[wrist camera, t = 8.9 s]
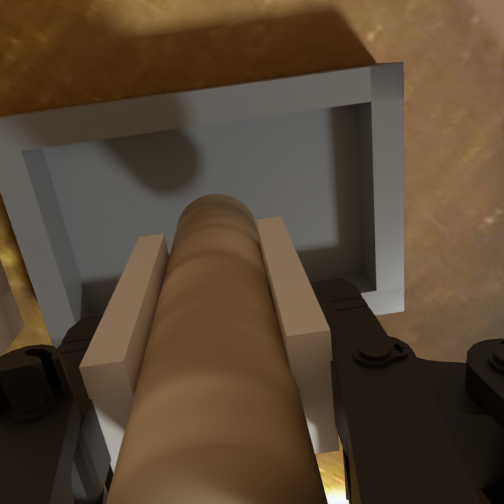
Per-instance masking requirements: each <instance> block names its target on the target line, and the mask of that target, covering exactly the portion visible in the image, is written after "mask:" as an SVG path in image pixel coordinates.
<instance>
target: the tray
mask: <svg viewBox="0 0 504 504" xmlns="http://www.w3.org/2000/svg"><path fill="white" fill-rule="evenodd" d="M0 193H1V196H2V198H3V201H4V204H5V207H6V210H7V213H8V216H9V219H10V222H11V225H12V228H13V230H14V233H15V236H16V239H17V242H18V245H19V248H20V251H21V254H22V257H23V260H24V262H25V265H26V268H27V271H28V274H29V277H30V280H31V283H32V286H33V289H34V292H35V294H36V297H37V300H38V303H39V306H40V309H41V312H42V315H43V318H44V321H45V324H46V326H47V329H48V332H49V335H50V338H51V341H52V344H53V346H54V347H55V348H57V349H58V347H59V345H61V342H62V340H63V338H64V336H65V335H66V333H67V331H68V329H70V328H71V327H72V326H73V325H74V324H76V323H77V322H78V321H79V320H80V319H82V318H83V317H88V316H95V315H102V314H104V312H105V310H106V308H107V306H108V304H109V302H110V299H111V297H112V295H113V293H114V291H115V289H116V287H117V284H118V282H119V280H120V278H121V276H122V274H123V271H124V269H125V267H126V265H127V263H128V261H129V259H130V256H131V254H132V252H133V250H134V248H135V246H136V243H137V241H138V239H139V237H142V236H149V235H156V234H163V233H164V234H165V238H166V243H167V248H168V253H169V255H170V252H171V248H172V244H173V240H174V236H175V232H176V228H177V224H178V221H179V218H180V216H181V214H182V212H183V211H184V209H185V208H186V207H187V206H188V205H189V204H190V203H191V202H193V201H194V200H196V199H198V198H200V197H203V196H206V195H210V194H223V195H228V196H231V197H233V198H235V199H237V200H239V201H241V202H242V203H243V204H244V205H245V206H246V207H247V208H248V209H249V210H250V212H251V213H252V215H253V217H254V219H255V222H256V220H260V219H267V218H274V217H280V216H281V218H282V220H283V223H284V225H285V227H286V230H287V232H288V234H289V236H290V239H291V241H292V243H293V246H294V248H295V250H296V252H297V255H298V257H299V259H300V262H301V264H302V266H303V268H304V271H305V273H306V275H307V278H308V280H309V282H315V281H322V280H329V279H335V278H343V279H345V280H347V281H348V282H350V283H352V284H354V285H355V286H356V287H357V289H358V290H359V292H360V293H361V295H362V297H363V298H364V299H365V301H366V303H367V304H368V307H370V309H371V310H372V312H373V313H374V315H381V314H388V313H394V312H401V311H404V85H403V62H393V63H376V64H369V65H362V66H354V67H347V68H340V69H333V70H326V71H318V72H311V73H304V74H297V75H289V76H282V77H275V78H268V79H261V80H253V81H246V82H239V83H232V84H225V85H217V86H210V87H203V88H196V89H189V90H181V91H174V92H167V93H160V94H152V95H145V96H138V97H131V98H124V99H116V100H109V101H102V102H95V103H88V104H80V105H73V106H66V107H59V108H51V109H44V110H37V111H30V112H23V113H15V114H9V115H4V116H0ZM256 226H257V223H256Z"/></svg>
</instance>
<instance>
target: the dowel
mask: <svg viewBox="0 0 504 504" xmlns="http://www.w3.org/2000/svg"><path fill="white" fill-rule="evenodd" d="M106 504H328V503H327V499H326V495H325V491H324V487H323V483H322V479H321V475H320V471H319V468H318V464H317V460H316V456H315V452H314V448H313V444H312V440H311V436H310V433H309V429H308V425H307V421H306V417H305V413H304V409H303V405H302V401H301V397H300V394H299V390H298V387H297V384H296V381H295V379H294V377H293V376H292V374H291V371H290V367H289V363H288V359H287V355H286V351H285V347H284V343H283V339H282V335H281V330H280V326H279V322H278V318H277V314H276V310H275V306H274V302H273V298H272V294H271V290H270V286H269V281H268V277H267V273H266V269H265V265H264V261H263V257H262V253H261V249H260V245H259V238H258V230H257V226H256V222H255V219H254V217H253V215H252V213H251V212H250V210H249V209H248V208H247V207H246V206H245V205H244V204H243V203H242V202H241V201H239V200H237V199H235V198H233V197H231V196H228V195H223V194H210V195H206V196H203V197H200V198H198V199H196V200H194V201H193V202H191V203H190V204H189V205H188V206H187V207H186V208H185V209H184V211H183V212H182V214H181V216H180V218H179V221H178V224H177V228H176V232H175V236H174V240H173V244H172V248H171V252H170V255H169V259H168V263H167V267H166V271H165V275H164V279H163V283H162V287H161V291H160V295H159V298H158V302H157V306H156V310H155V314H154V318H153V322H152V326H151V330H150V334H149V337H148V341H147V345H146V349H145V353H144V357H143V361H142V365H141V369H140V373H139V377H138V380H137V384H136V388H135V392H134V396H133V400H132V404H131V408H130V412H129V416H128V419H127V423H126V427H125V431H124V435H123V439H122V443H121V447H120V451H119V455H118V458H117V462H116V466H115V470H114V474H113V478H112V482H111V486H110V490H109V494H108V498H107V501H106Z"/></svg>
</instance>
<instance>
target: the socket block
mask: <svg viewBox="0 0 504 504" xmlns="http://www.w3.org/2000/svg"><path fill="white" fill-rule="evenodd" d="M23 327H24V324H23V321H22V318H21V316H20V313H19V310H18V307H17V305H16V302H15V299H14V296H13V294H12V291H11V288H10V285H9V283H8V280H7V277H6V275H5V272H4V269H3V266H2V264H1V261H0V356H2V355H3V354H4V353H5V351H6V350H7V349H8V347H9V346H10V345H11V343H12V342H13V341H14V339H15V338H16V337H17V335H18V334H19V333H20V331H21V330H22V329H23Z"/></svg>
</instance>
